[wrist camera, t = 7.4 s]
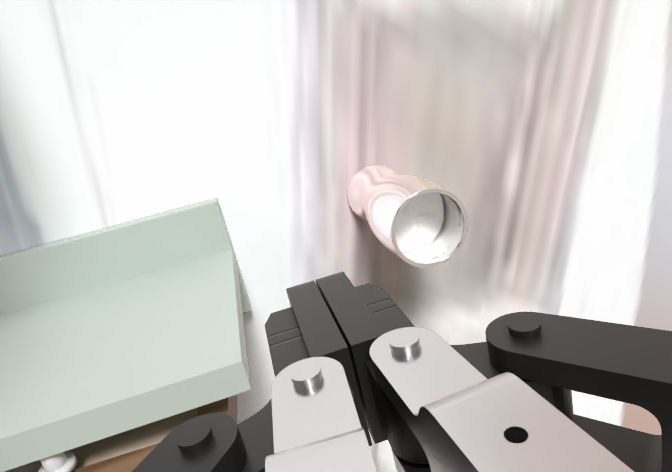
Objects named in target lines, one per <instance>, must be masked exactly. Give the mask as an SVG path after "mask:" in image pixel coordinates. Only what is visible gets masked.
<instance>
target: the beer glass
mask: <svg viewBox="0 0 672 472" xmlns="http://www.w3.org/2000/svg"><path fill="white" fill-rule="evenodd" d="M348 201H349V205H350V207H351V209H352V210H353V212H354V213H355V214H356V215H357V216H359V217H360V218H362V219H364V220H367V221H368V224H369V226H370V228H371V230H372V232H373V233H374V235H375V236H376V238H377V239H378V240H379V241H380V242H381V243H382V244H383V245H384V246H385V247H386V248H387V249H388V250H390V251H391V252H392V253H393V254H395V255H397V256H398V257H400V258H401V259H403V260H404V261H405V262H407V263H408V264H410V265H413V266H416V267H420V268H430V267H435V266H438V265H441V264H443V263H445V262H447V261H448V260H450V259H451V258H452V257H453V256H454V255H455V254H456V253H457V252H458V251H459V250H460V248H461V247H462V245H463V243H464V241H465V239H466V236H467V232H468V215H467V212H466V209H465V207H464V205H463V203H462V202H461V200H460V199H459V198H458V197H457V196H456V195H454V194H453V193H451V192H449V191H447V190H446V189H444V188H443V187H441V186H440V185H438V184H436V183H434V182H432V181H430V180H428V179H425V178H422V177H419V176H415V175H405V174H402V175H397V174H396V173H395V172H394V171H393V170H391V169H390V168H388V167H385V166H382V165H372V166H368V167H365V168H363V169H362V170H360V171H359V172H358V173H357V174H356V175H355V176H354V177H353V179H352V180H351V182H350V185H349V188H348Z"/></svg>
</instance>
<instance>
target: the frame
mask: <svg viewBox="0 0 672 472" xmlns="http://www.w3.org/2000/svg"><path fill="white" fill-rule="evenodd" d="M209 413H223V414H227V415H229V416H231V417H232V418H233V419H234V420H235V421H236V423H237V395H233V396H230V397H227V398H224V399H221V400H218V401H215V402H212V403H209V404H206V405H203V406H200V407H197V408H194V409H191V410H188V411H185V412H182V413H179V414H176V415H173V416H170V417H167V418H164V419H161V420H158V421H155V422H152V423H149V424H146V425H143V426H140V427H137V428H134V429H131V430H128V431H125V432H122V433H119V434H116V435H113V436H110V437H107V438H104V439H101V440H98V441H95V442H92V443H89V444H86V445H83V446H80V447H77V448H74V449H71V450H68V451H65V452H73V453H74V455H75V457H76V459H77V464H76V466H75V468H74V469H73V470H72V471H71V472H132V471H133V470H134V469H135V468H136V467H137V466H138V465H139V464H140V463H141V462H142V460H143V459H144V458H145V457H146V456H147V455H148V454H149V453H150V452H151V451H152V450H153V449H154V448H155V447H156V446H157V445H158V444H159V443H160V442H161V441H162V440H163V439H164V438H165V437H166V436H167V435H168V434H169V433H170V432H171V431H172V430H173V429H175V428H176V427H177V426H179V425H181V424H182V423H184V422H186V421H188V420H190V419H192V418H194V417H197V416H200V415H204V414H209ZM41 466H42V463H41V462H40V460H37V461H34V462H31V463H28V464H25V465H22V466H19V467H16V468H13V469H10V470H7V471H4V472H38V471H39V469H40V468H41Z"/></svg>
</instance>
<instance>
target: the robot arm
mask: <svg viewBox="0 0 672 472" xmlns="http://www.w3.org/2000/svg"><path fill="white" fill-rule="evenodd" d="M316 285H317V286H316ZM286 290H287V294H288V298H289V301H290V305H291V307H290V308H287V309H284V310H281V311H277V312H274V313H271V315H270V317H269V318H268V320H267V322H266V324H265V329H266V334H267V338H268V344H269V349H270V354H271V359H272V364H273V369H274V374H275V379H274V380H273V382H272V385H271V398H272V399H271V400H270V401H269V402H268V404H267V405H266V406H265V407H264V408H263V409H261V410H260V411H259V412H258V413H256V414H255V415H253V416H252V417H250V418H248V419H246V420H245V421H243V422H241V423H240V424H238V425H237V423H236V421H235V420H234V419H233V418H232V417H231V416H229V415H227V414H223V413H209V414H204V415H200V416H197V417H194V418H192V419H190V420H188V421H186V422H184V423H182V424H181V425H179V426H177V427H176V428H175V429H173V430H172V431H171V432H170V433H169V434H168V435H167V436H166V437H165V438H164V439H163V440H162V441H161V442H160V443H159V444H158V445H157V446H156V447H155V448H154V449H153V450H152V451H151V452H150V453H149V454H148V455H147V456H146V457H145V458H144V459H143V460H142V462H141V463H140V464H139V465H138V466H137V467H136V468H135V469H134V470H133V471H132V472H377V470H376V467H375V464H374V461H373V457H372V454H371V451H370V448H369V446H371V445H372V442H371V438H370V434H369V431H370V433H371V436H372V438H373V440H374V442H375V444H376V443H379V442H382V441H385V440H387V439H388V441H389V443H390V445H391V447H392V452H393V456H394V460H395V465H396V469H397V471H398V472H672V331H665V330H658V329H651V328H644V327H637V326H630V325H623V324H616V323H608V322H601V321H594V320H587V319H580V318H573V317H566V316H558V315H551V314H544V313H537V312H517V313H511V314H507V315H504V316H501V317H499V318H497V319H495V320H494V321H492V322H491V323H490V324H489V325H488V327H487V328H486V340H487V342H481V343H473V344H465V345H449V344H448V343H447V342H446V341H444V340H443V339H442V338H441V337H440V336H439V335H438V334H437V333H435V332H434V331H432V330H429V329H426V328H421V327H415V326H414V325H413V324H412V323H411V322H410V320H409V319H408V318H407V317H406V316H405V315H404V313H403V312H402V311H401V310H400V309H399V307H397V306H396V304H395V303H394V301H393V300H392V299H390V297H389V295H388V294H387V293H386V292H385V291H384V289H383V288H380V287H377V286H374V285H372V284H369V283H368V284H365V285H361V286H358V287H354V286H353V285H352V283H351V282H350V280H349V279H348V277H347V276H346V275H345V273H344V272H340V273H337V274H333V275H330V276H327V277H324V278H320V279H317V280H316V284H315V282H314V281H311V282H307V283H304V284H301V285H297V286H294V287H291V288H287V289H286ZM571 390H574V391H578V392H582V393H587V394H591V395H595V396H600V397H604V398H609V399H613V400H617V401H622V402H626V403H630V404H634V405H638V406H640V407H643V408H644V409H646V410H648V411H649V412H651V413H652V414H653V415H654V416H655V417H656V418H657V419H658V421H659V423H660V425H661V429H662V435H651V434H648V433H644V432H640V431H636V430H632V429H628V428H625V427H621V426H617V425H613V424H609V423H605V422H601V421H597V420H594V419H590V418H586V417H582V416H578V415H574V414H573V406H572V393H571ZM368 429H369V430H368Z"/></svg>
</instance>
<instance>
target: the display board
mask: <svg viewBox="0 0 672 472" xmlns="http://www.w3.org/2000/svg"><path fill="white" fill-rule="evenodd" d="M249 311H251V306H250V301H249V298H248V295H247V292H246V289H245V286H244V282H243V279H242V276H241V273H240V270H239V266H238V263H237V260H236V257H235V254H234V251H233V247H232V244H231V241H230V238H229V235H228V232H227V228H226V225H225V222H224V219H223V216H222V212H221V209H220V206H219V203H218V200H217V198H214V199H210V200H206V201H203V202H199V203H195V204H192V205H188V206H184V207H181V208H177V209H173V210H170V211H166V212H162V213H158V214H155V215H151V216H147V217H144V218H140V219H136V220H133V221H129V222H125V223H122V224H118V225H114V226H111V227H107V228H103V229H99V230H96V231H92V232H88V233H85V234H81V235H77V236H74V237H70V238H66V239H63V240H59V241H55V242H52V243H48V244H44V245H40V246H37V247H33V248H29V249H26V250H22V251H18V252H15V253H11V254H7V255H4V256H0V472H4V471H7V470H10V469H13V468H16V467H19V466H22V465H25V464H28V463H31V462H34V461H37V460H40V462H41V463H42V466H41V468H40V469H39V471H38V472H71V471H72V470H73V469H74V468H75V466H76V464H77V459H76V457H75V455H74V453H73V452H65V451H68V450H71V449H74V448H77V447H80V446H83V445H86V444H89V443H92V442H95V441H98V440H101V439H104V438H107V437H110V436H113V435H116V434H119V433H122V432H125V431H128V430H131V429H134V428H137V427H140V426H143V425H146V424H149V423H152V422H155V421H158V420H161V419H164V418H167V417H170V416H173V415H176V414H179V413H182V412H185V411H188V410H191V409H194V408H197V407H200V406H203V405H206V404H209V403H212V402H215V401H218V400H221V399H224V398H227V397H230V396H233V395H237V394H240V393H243V392H246V391H249V390H251V383H250V374H249V365H248V357H247V348H246V339H245V330H244V321H243V313H245V312H249Z"/></svg>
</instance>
